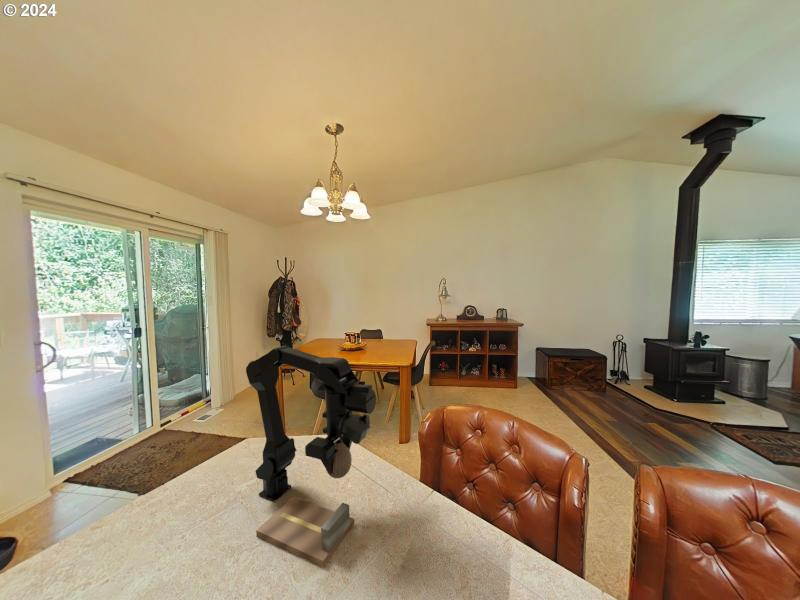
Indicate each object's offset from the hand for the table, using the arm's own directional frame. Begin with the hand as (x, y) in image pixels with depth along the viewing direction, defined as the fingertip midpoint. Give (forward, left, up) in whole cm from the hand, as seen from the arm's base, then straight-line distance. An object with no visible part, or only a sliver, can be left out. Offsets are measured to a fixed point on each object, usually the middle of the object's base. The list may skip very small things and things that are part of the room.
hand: (338, 465), depth 75 cm
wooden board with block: (-4, -8, -12) cm, 15 cm away
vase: (0, 0, -2) cm, 2 cm away
